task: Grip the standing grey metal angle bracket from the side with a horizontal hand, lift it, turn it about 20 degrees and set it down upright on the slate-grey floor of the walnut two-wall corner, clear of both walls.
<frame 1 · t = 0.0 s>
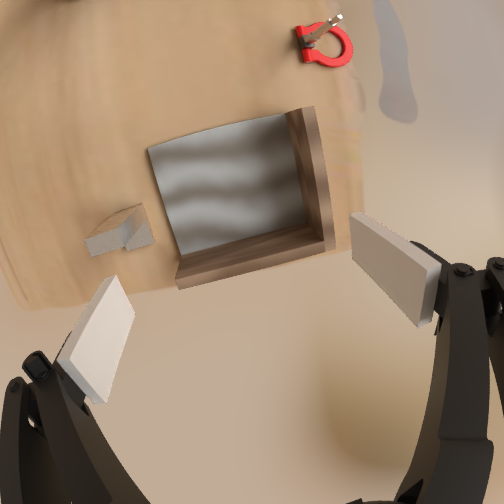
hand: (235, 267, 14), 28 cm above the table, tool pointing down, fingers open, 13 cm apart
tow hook: (324, 45, 32), on the table
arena: (236, 187, 40), on the table
bracket: (131, 214, 40), on the table
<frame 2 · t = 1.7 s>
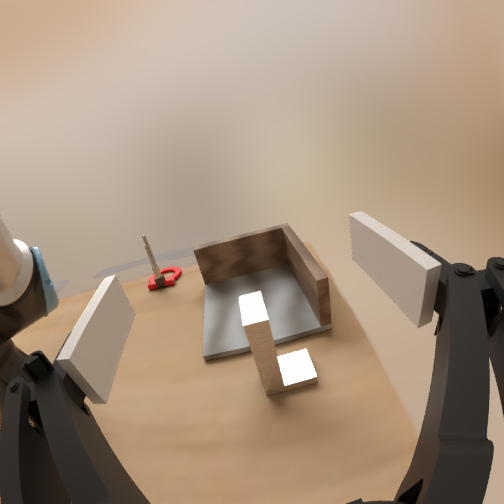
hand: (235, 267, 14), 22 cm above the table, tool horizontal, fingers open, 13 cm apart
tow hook: (165, 279, 64), on the table
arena: (258, 303, 47), on the table
bracket: (272, 378, 32), on the table
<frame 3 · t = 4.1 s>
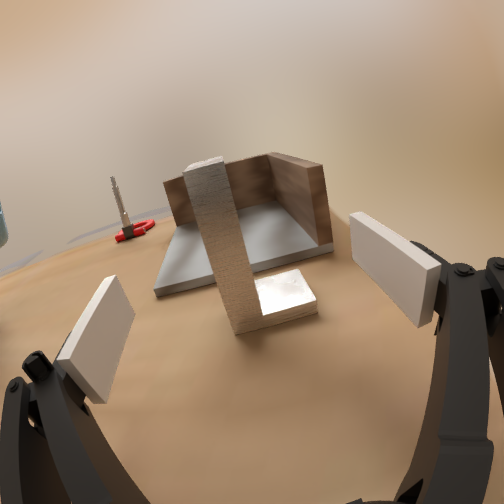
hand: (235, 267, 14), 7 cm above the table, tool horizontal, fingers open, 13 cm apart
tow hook: (137, 232, 54), on the table
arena: (236, 236, 37), on the table
bracket: (246, 311, 22), on the table
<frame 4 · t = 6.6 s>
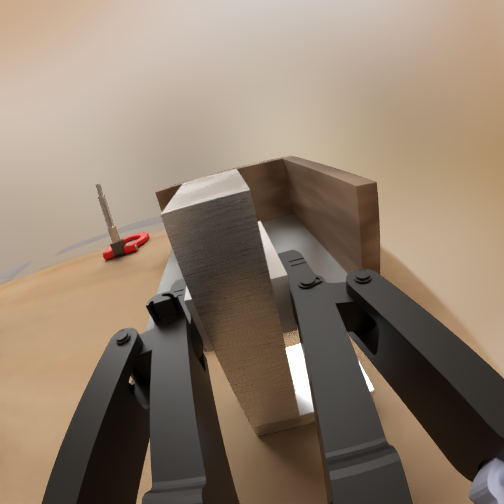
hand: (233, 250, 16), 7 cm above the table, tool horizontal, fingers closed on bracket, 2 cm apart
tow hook: (128, 247, 47), on the table
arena: (247, 264, 30), on the table
bracket: (271, 396, 14), on the table, touching gripper
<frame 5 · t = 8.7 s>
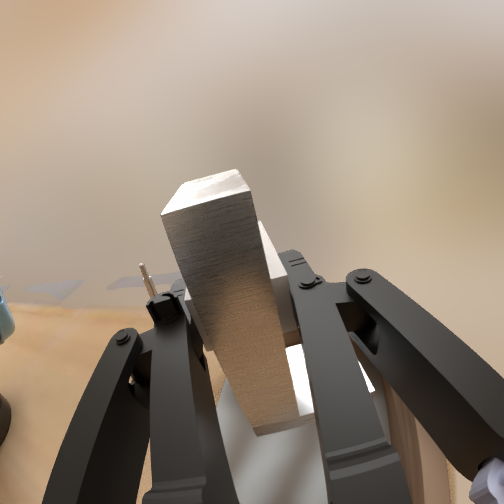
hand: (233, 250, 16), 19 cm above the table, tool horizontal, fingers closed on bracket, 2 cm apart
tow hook: (182, 323, 43), on the table
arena: (305, 439, 21), on the table
bracket: (271, 397, 14), point 12 cm above the table, touching gripper
when the fingers open (10 cm above the table, at t = 10.9 s): bracket drops 2 cm, resting on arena.
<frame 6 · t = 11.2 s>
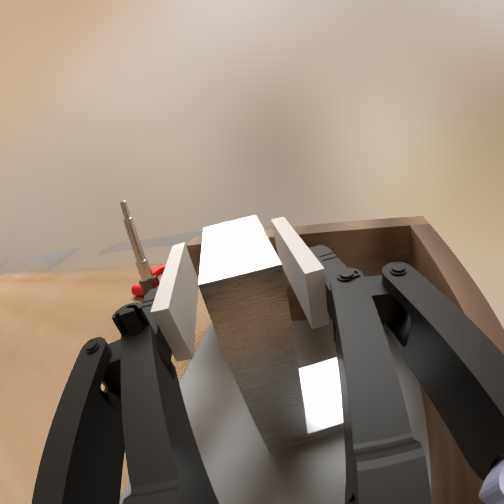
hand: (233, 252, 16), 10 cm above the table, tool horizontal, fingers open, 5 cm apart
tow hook: (168, 281, 37), on the table
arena: (302, 422, 15), on the table
bracket: (280, 414, 15), point 1 cm above the table, touching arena
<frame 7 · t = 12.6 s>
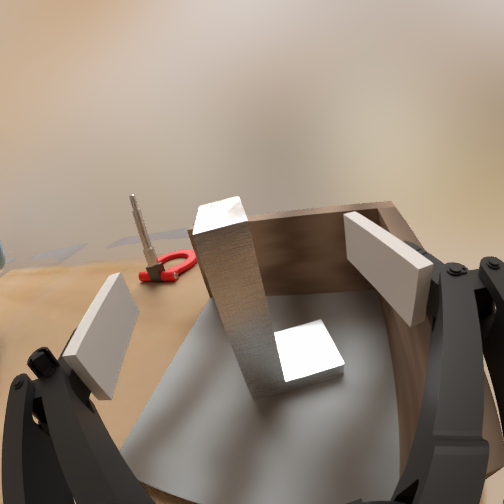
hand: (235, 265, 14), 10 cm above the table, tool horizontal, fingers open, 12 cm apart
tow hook: (172, 268, 41), on the table
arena: (284, 378, 19), on the table
bracket: (264, 369, 19), point 1 cm above the table, touching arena
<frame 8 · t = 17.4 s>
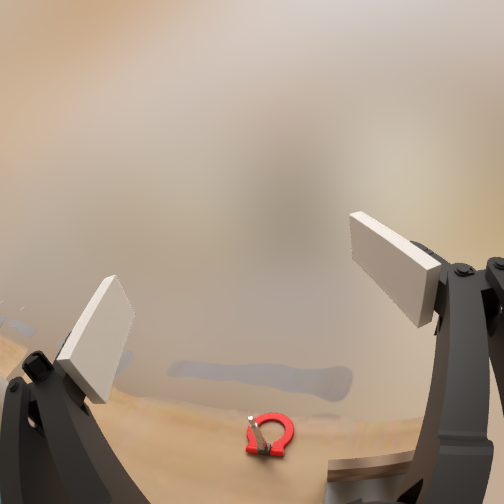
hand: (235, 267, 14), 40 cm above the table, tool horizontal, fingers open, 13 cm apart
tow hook: (270, 435, 41), on the table
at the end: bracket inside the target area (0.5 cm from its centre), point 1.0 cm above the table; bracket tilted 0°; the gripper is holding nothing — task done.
